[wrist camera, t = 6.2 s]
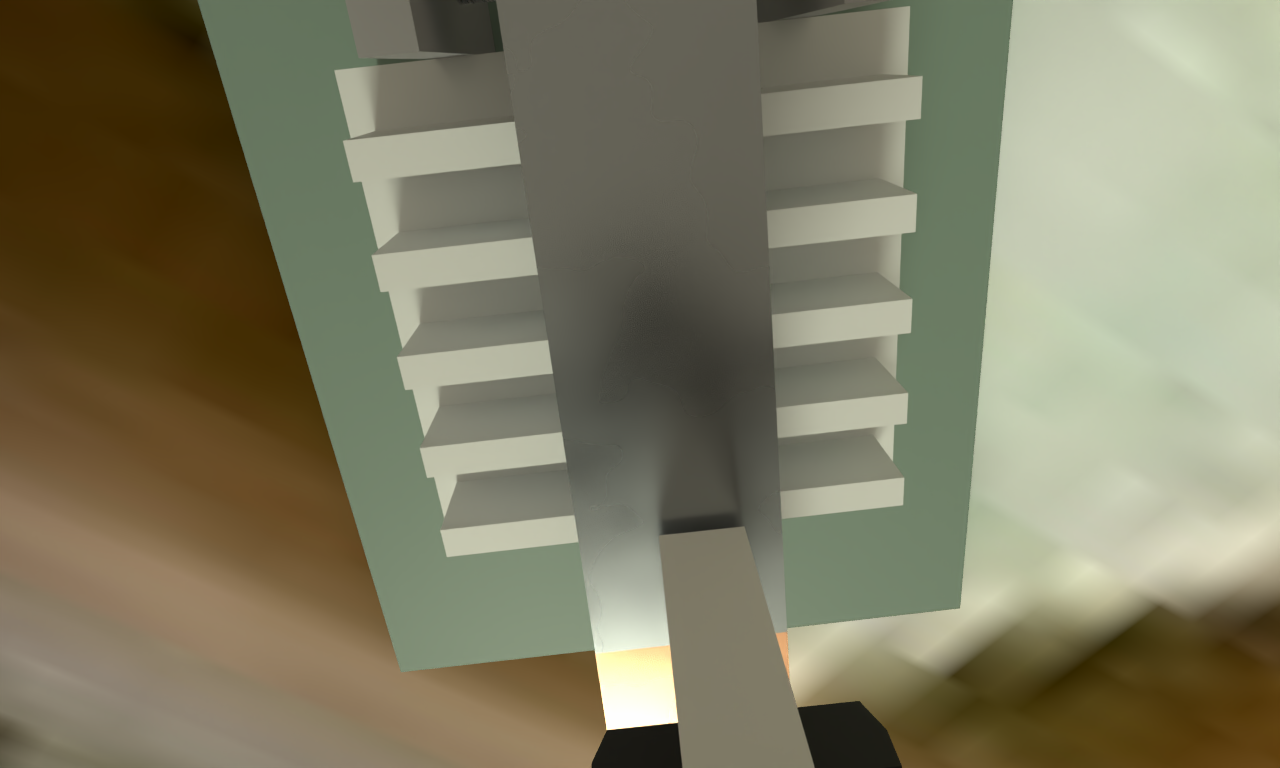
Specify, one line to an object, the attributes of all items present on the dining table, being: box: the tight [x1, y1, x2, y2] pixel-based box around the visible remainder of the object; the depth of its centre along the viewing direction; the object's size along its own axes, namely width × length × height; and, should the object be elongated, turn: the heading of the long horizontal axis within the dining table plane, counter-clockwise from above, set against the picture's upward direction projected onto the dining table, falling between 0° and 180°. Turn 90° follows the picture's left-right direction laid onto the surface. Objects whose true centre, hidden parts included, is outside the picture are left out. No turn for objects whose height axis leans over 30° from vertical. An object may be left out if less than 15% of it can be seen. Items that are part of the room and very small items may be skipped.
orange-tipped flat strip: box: [457, 0, 789, 730], centre depth 13 cm, size 5×17×2 cm, turn 6°
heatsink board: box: [198, 0, 1013, 672], centre depth 16 cm, size 18×24×9 cm
